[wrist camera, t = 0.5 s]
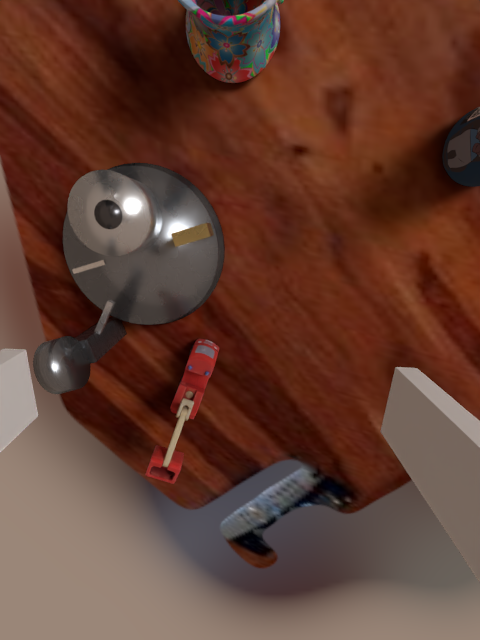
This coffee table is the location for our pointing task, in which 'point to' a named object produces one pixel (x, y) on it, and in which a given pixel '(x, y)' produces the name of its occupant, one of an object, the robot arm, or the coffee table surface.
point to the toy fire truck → (184, 408)
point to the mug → (232, 36)
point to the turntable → (152, 258)
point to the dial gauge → (76, 354)
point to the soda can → (464, 150)
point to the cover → (114, 213)
